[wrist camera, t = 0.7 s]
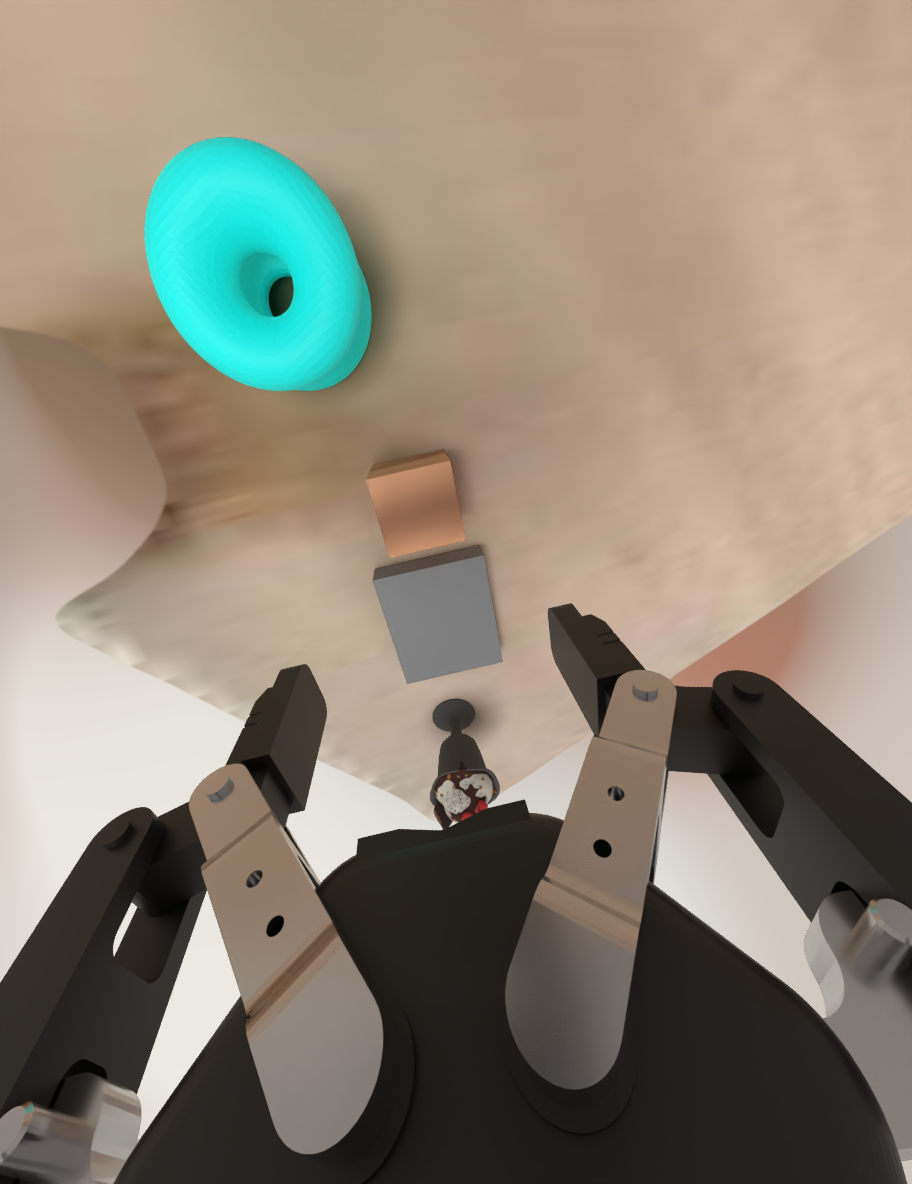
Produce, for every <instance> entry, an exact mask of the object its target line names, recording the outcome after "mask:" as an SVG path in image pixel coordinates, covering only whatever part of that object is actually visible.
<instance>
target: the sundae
mask: <svg viewBox="0 0 912 1184" xmlns="http://www.w3.org/2000/svg"><path fill="white" fill-rule="evenodd" d="M474 715H475V711H474V709H473V707H472V705H470V704H469V703H468V702H466V701H463V700H459V699H454V700H448V701H445V702H443V703H441V704H440V705H439V706H438V707H437V708H436V709H435V711H434V713H433V721H434V723H435V725H436V726H437V727H438V728H440V729H442V730H444V731H451V736H449V737H448V738H447V739H446V740H445V741H444V742H443V743H442V745H441V748H440V754H439V765H438V777H437V778H436V780H435V781H434V784H433V786H432V789H431V792H430V800H431V802H432V804H433V805H434V806H435V808H434V814H435V816H436V818H437V820H438V822H439V823H440V825H441V826H442V828H443V830H444V829H447V828H449V826H450V825H451V823H452V822H453V821H454V822H456V823H458V822H460V821H462V820H464V819H466V818H468V817H470V816H472V815H474V814H476V813H478V812H480V811H481V810H483V809H487V807H488V806H487V805H488V804H490V803H491V802H492V801H494V800H495V799H496V798H497V796H498V795H499V791H500V785H499V783H498V780H497V778H496V776H495V775H494V773H493V772H492V771H490V770H489V769H486V766H485V764H484V761H483V758H482V755H481V753H480V750H479V748H478V746H477V744H476V742H475V740H474V739H473V738H471V737H470V736H468V735H465V734H462V733H461V730H462V729H464V728H466V727H467V726H469V725H470V724H471V722H472V721H473V719H474Z"/></svg>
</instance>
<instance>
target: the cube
mask: <svg viewBox="0 0 912 1184" xmlns="http://www.w3.org/2000/svg"><path fill="white" fill-rule="evenodd" d="M366 481H367V485H368V488H369V491H370V495H371V498H372V501H373V504H374V508H375V511H376V514H377V518H378V521H379V524H380V527H381V531H382V534H383V537H384V541H385V544H386V547H387V551H388V554H389V557H390V558H391V557H396V556H400V555H404V554H409V553H413V552H417V551H422V550H426V549H430V548H435V547H439V546H443V545H448V544H452V543H457V542H461V541H465V540H466V538H465V533H464V528H463V523H462V518H461V513H460V508H459V503H458V498H457V493H456V488H455V482H454V477H453V472H452V467H451V462H450V460H449V458H448V456H447V455H446V453H445V452H444V450H438V451H434V452H430V453H425V454H421V455H416V456H412V457H408V458H403V459H399V460H395V461H390V462H386V463H381V464H377V465H373V466H372V468H371V470H370V472H369V475H368V477H367V479H366Z"/></svg>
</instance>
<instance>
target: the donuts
mask: <svg viewBox="0 0 912 1184" xmlns="http://www.w3.org/2000/svg"><path fill="white" fill-rule="evenodd" d="M145 248H146V255H147V261H148V266H149V270H150V274H151V277H152V281H153V284H154V287H155V289H156V292H157V294H158V297H159V299H160V301H161V303H162V305H163V307H164V309H165V311H166V313H167V315H168V316H169V318H170V320H171V321H172V323H173V324H174V326H175V327H176V329H177V330H178V332H179V333H180V334H181V335H182V337H183V338H184V339H185V340H186V342H187V343H188V344H189V345H190V346H191V347H192V348H193V349H194V350H195V351H196V352H197V353H198V354H199V355H200V356H201V357H202V358H203V359H204V360H206V361H207V362H208V363H209V364H210V365H212V366H213V367H214V368H216V369H217V370H219V371H220V372H222V373H223V374H225V375H227V376H228V377H230V378H232V379H234V380H236V381H238V382H241V383H243V384H245V385H248V386H251V387H255V388H259V389H264V390H272V391H289V390H300V391H314V390H321V389H325V388H328V387H331V386H333V385H335V384H337V383H339V382H341V381H342V380H344V379H345V378H346V377H347V376H349V375H350V374H351V373H352V371H353V370H354V369H355V368H356V367H357V365H358V364H359V362H360V361H361V359H362V357H363V355H364V353H365V351H366V348H367V345H368V342H369V338H370V333H371V323H372V311H371V301H370V295H369V291H368V287H367V284H366V280H365V278H364V275H363V272H362V270H361V268H360V266H359V264H358V262H357V258H356V254H355V251H354V248H353V245H352V242H351V239H350V237H349V234H348V232H347V230H346V227H345V225H344V223H343V221H342V219H341V217H340V216H339V214H338V212H337V210H336V209H335V207H334V206H333V204H332V202H331V201H330V200H329V198H328V197H327V195H326V194H325V193H324V192H323V190H322V189H321V188H320V187H319V186H318V184H317V183H316V182H315V181H314V180H313V179H312V178H311V177H310V176H309V175H308V174H307V173H306V172H305V171H304V170H303V169H301V168H300V167H299V166H298V165H296V164H295V163H294V162H292V161H291V160H290V159H288V158H287V157H285V156H284V155H282V154H280V153H278V152H277V151H275V150H273V149H271V148H269V147H267V146H265V145H262V144H259V143H257V142H254V141H250V140H246V139H241V138H233V137H220V138H211V139H206V140H203V141H200V142H197V143H195V144H192V145H190V146H189V147H187V148H185V149H184V150H182V151H181V152H179V153H178V154H177V155H176V156H175V157H174V158H172V159H171V161H170V162H169V163H168V164H167V165H166V166H165V168H164V169H163V170H162V172H161V173H160V175H159V177H158V178H157V180H156V182H155V184H154V186H153V189H152V192H151V195H150V198H149V202H148V206H147V210H146V218H145ZM287 276H289V277H292V279H293V285H294V294H293V300H292V302H291V305H290V307H289V308H288V309H287V311H286V312H285V313H283V314H282V315H280V316H277V317H274V316H273V315H272V312H271V310H270V306H269V292H270V289H271V286H272V285H273V283H274V282H275V281H276V280H278V279H279V278H282V277H287Z"/></svg>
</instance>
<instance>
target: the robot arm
mask: <svg viewBox="0 0 912 1184" xmlns="http://www.w3.org/2000/svg"><path fill="white" fill-rule="evenodd" d="M548 620H549V630H550V641H551V649H552V653H553V657H554V660H555V663H556V665H557V667H558V669H559V670H560V672H561V674H562V676H563V678H564V680H565V681H566V683H567V685H568V687H569V689H570V691H571V692H572V694H573V696H574V698H575V700H576V702H577V703H578V705H579V707H580V709H581V711H582V713H583V715H584V716H585V718H586V720H587V722H588V724H589V726H590V727H591V729H592V731H593V733H594V736H593V738H592V740H591V743H590V745H589V748H588V751H587V754H586V757H585V760H584V763H583V766H582V769H581V772H580V775H579V778H578V781H577V784H576V787H575V790H574V793H573V796H572V799H571V802H570V805H569V808H568V811H567V814H566V817H565V820H561V819H559V818H556V817H552V816H549V815H543V814H537V813H529V812H528V808H527V805H526V802H525V800H521V801H516V802H512V803H508V804H504V805H500V806H496V807H491V808H487V809H483V810H481V811H480V812H478V813H476V814H474V815H472V816H470V817H468V818H466V819H464V820H462V821H460V822H458V823H456V824H455V825H453V826H451V827H449V828H447V829H444V830H439V831H438V830H410V829H397V830H393V831H389V832H385V833H381V834H376V835H372V836H368V837H363V838H360V839H358V845H357V854H356V855H355V856H353V857H351V858H350V859H348V860H347V861H345V862H344V863H342V864H341V865H340V866H339V867H337V868H336V869H335V870H334V871H332V873H331V874H329V875H328V876H327V877H326V878H325V879H324V880H323V882H322V883H321V882H320V881H319V879H318V878H317V876H316V874H315V873H314V871H313V869H312V868H311V866H310V864H309V863H308V861H307V859H306V857H305V856H304V854H303V852H302V851H301V849H300V847H299V846H298V844H297V842H296V841H295V839H294V838H293V836H292V834H291V832H290V831H289V829H288V828H287V826H286V822H287V818H288V815H289V814H291V813H295V812H300V811H304V810H305V806H306V802H307V798H308V793H309V789H310V785H311V781H312V777H313V772H314V768H315V764H316V760H317V756H318V751H319V747H320V743H321V739H322V734H323V730H324V726H325V722H326V717H327V708H326V703H325V699H324V697H323V695H322V693H321V691H320V689H319V687H318V685H317V682H316V680H315V678H314V676H313V674H312V672H311V670H310V668H309V667H308V666H307V665H306V664H303V665H299V666H294V667H290V668H286V669H282V670H281V671H280V672H279V674H278V676H277V679H276V681H275V683H274V686H273V687H272V688H268V689H267V690H266V691H265V692H264V693H263V694H262V695H261V696H260V697H259V698H258V700H257V701H256V702H255V704H254V706H253V708H252V710H251V713H250V717H248V719H247V721H246V723H245V728H243V729H242V732H241V734H240V736H239V738H238V740H237V742H236V745H235V746H234V749H233V751H232V753H231V755H230V757H229V759H228V761H227V763H226V766H224V767H221V768H219V769H217V770H216V771H214V772H213V773H211V774H210V775H209V776H207V777H206V778H205V779H204V780H203V781H202V782H201V783H200V784H199V785H198V786H197V787H196V789H195V790H194V792H193V793H192V795H191V797H190V801H189V802H187V803H185V804H183V805H181V806H179V807H177V808H175V809H173V810H171V811H169V812H167V813H165V814H163V815H161V816H159V817H157V816H156V815H155V814H154V813H153V812H152V811H151V810H150V809H149V808H146V807H140V808H135V809H132V810H129V811H127V812H125V813H123V814H121V815H120V816H118V817H116V818H115V819H113V820H112V821H111V822H109V823H108V824H107V825H106V826H105V827H104V828H102V830H100V831H99V832H98V833H97V835H96V836H95V837H94V838H93V839H92V841H91V842H90V843H89V845H88V846H87V848H86V850H85V851H84V853H83V854H82V856H81V857H80V859H79V861H78V862H77V864H76V865H75V867H74V868H73V870H72V871H71V873H70V875H69V876H68V878H67V879H66V881H65V882H64V884H63V886H62V887H61V889H60V890H59V892H58V893H57V895H56V897H55V898H54V900H53V901H52V903H51V904H50V906H49V907H48V909H47V911H46V912H45V914H44V915H43V917H42V918H41V920H40V922H39V923H38V925H37V926H36V928H35V929H34V931H33V933H32V934H31V936H30V937H29V939H28V940H27V942H26V944H25V945H24V947H23V948H22V950H21V951H20V953H19V955H18V956H17V958H16V959H15V961H14V962H13V964H12V965H11V967H10V969H9V970H8V972H7V973H6V975H5V976H4V978H3V980H2V981H1V983H0V1184H907V1181H906V1178H905V1174H904V1170H903V1167H902V1163H901V1161H905V1160H912V803H911V802H910V801H909V800H908V799H907V798H906V797H904V796H903V795H902V794H901V793H900V792H899V791H898V790H897V789H895V788H894V787H893V786H892V785H891V784H890V783H888V781H886V780H885V779H884V778H883V777H882V776H881V775H880V774H878V773H877V772H876V771H875V770H874V769H873V768H871V766H869V765H868V764H867V763H866V762H865V761H864V760H863V759H861V758H860V757H859V756H858V755H857V754H856V753H855V752H854V751H852V750H851V749H850V748H849V747H848V746H847V745H846V744H844V743H843V742H842V741H841V740H840V739H839V738H838V737H836V736H835V735H834V734H833V733H832V732H831V731H830V730H828V729H827V728H826V727H825V726H824V725H823V724H822V723H821V722H819V721H818V720H817V719H816V718H815V717H814V716H813V715H812V714H810V713H809V712H808V711H807V710H806V709H805V708H804V707H802V706H801V705H800V704H799V703H798V702H797V701H796V700H794V699H793V698H792V697H791V696H790V695H789V694H788V693H787V692H785V691H784V690H783V689H782V688H781V687H780V686H779V685H777V684H776V683H775V682H774V681H772V680H770V679H769V678H767V677H764V676H762V675H759V674H756V673H753V672H747V671H740V670H735V671H727V672H723V673H721V674H719V675H718V676H716V678H715V679H714V681H713V686H712V687H681V686H675V685H674V684H673V683H672V682H671V681H670V680H669V679H668V678H666V677H665V676H663V675H661V674H659V673H656V672H652V671H647V670H645V668H644V667H643V666H642V665H641V664H640V662H639V661H638V660H637V659H636V658H635V657H634V655H633V654H632V653H631V652H630V651H629V649H628V648H627V647H626V646H625V645H624V644H623V642H622V641H620V639H619V638H618V636H617V635H616V634H615V633H613V631H612V629H611V628H610V627H609V626H608V625H607V623H606V622H605V621H603V620H601V619H599V618H597V617H595V616H593V615H592V614H590V615H586V616H581V615H580V613H579V612H578V611H577V609H576V608H575V607H574V605H573V604H571V603H570V604H565V605H561V606H557V607H552V608H549V609H548ZM669 771H678V772H692V773H706V774H708V776H709V777H710V778H711V780H712V781H713V783H714V784H715V786H716V787H717V788H718V790H719V791H720V793H721V794H722V796H723V797H724V798H725V800H726V801H727V803H728V804H729V806H730V807H731V808H732V810H733V811H734V813H735V814H736V816H737V817H738V818H739V820H740V821H741V823H742V824H743V826H744V827H745V829H746V830H747V831H748V832H749V834H750V836H751V837H752V839H753V840H754V841H755V843H756V844H757V846H758V847H759V849H760V850H761V851H762V853H763V854H764V856H765V857H766V858H767V860H768V861H769V863H770V864H771V866H772V867H773V868H774V870H775V871H776V873H777V874H778V876H779V877H780V879H781V880H782V881H783V883H784V884H785V886H786V887H787V889H788V890H789V891H790V893H791V894H792V896H793V897H794V899H795V900H796V901H797V903H798V904H799V906H800V907H801V908H802V910H803V911H804V913H805V914H806V916H807V917H808V918H809V920H810V921H811V924H810V927H809V929H808V930H807V933H806V935H805V939H804V950H805V955H806V959H807V961H808V964H809V967H810V968H811V970H812V972H813V974H814V976H815V978H816V980H817V982H818V984H819V986H820V989H821V991H822V994H823V997H824V1002H825V1007H826V1018H824V1019H822V1018H821V1016H820V1015H819V1014H818V1013H817V1012H816V1011H815V1010H814V1009H813V1008H812V1007H811V1006H810V1005H809V1004H808V1003H807V1002H806V1001H805V1000H804V999H803V998H802V997H801V996H800V995H799V994H797V993H796V992H795V991H794V990H793V989H792V988H790V987H789V986H788V985H787V984H785V983H784V982H782V981H781V980H780V979H779V978H777V977H776V976H774V975H773V974H772V973H771V972H769V971H768V970H767V969H765V968H764V967H763V966H761V965H760V964H759V963H757V962H756V961H755V960H753V959H752V958H751V957H749V956H748V955H747V954H745V953H744V952H743V951H741V950H740V949H739V948H737V947H736V946H735V945H733V944H732V943H731V942H729V941H728V940H727V939H725V938H724V937H723V936H722V935H720V934H719V933H717V932H716V931H715V930H714V929H712V928H711V927H709V926H708V925H707V924H706V923H704V922H703V921H702V920H700V919H699V918H698V917H696V916H695V915H694V914H692V913H691V912H690V911H688V910H687V909H686V908H684V907H683V906H681V905H680V904H679V903H678V902H676V901H675V900H674V899H672V898H671V897H670V896H668V895H667V894H666V893H664V892H663V891H662V890H660V889H659V888H658V887H656V886H655V885H654V878H655V872H656V864H657V856H658V848H659V840H660V832H661V825H662V818H663V810H664V804H665V797H666V789H667V782H668V775H669ZM206 891H208V894H209V897H210V900H211V903H212V907H213V910H214V913H215V916H216V919H217V922H218V925H219V928H220V932H221V935H222V938H223V940H224V944H225V947H226V950H227V953H228V957H229V960H230V963H231V966H232V969H233V972H234V975H235V978H236V981H237V985H238V987H239V991H240V994H241V996H240V998H239V999H238V1000H237V1002H236V1003H235V1005H234V1006H233V1008H232V1009H231V1011H230V1012H229V1014H228V1015H227V1016H226V1017H225V1019H224V1020H223V1022H222V1023H221V1025H220V1026H219V1027H218V1029H217V1030H216V1032H215V1033H214V1035H213V1036H212V1037H211V1039H210V1040H209V1042H208V1043H207V1045H206V1046H205V1047H204V1049H203V1050H202V1052H201V1053H200V1054H199V1056H198V1058H197V1059H196V1060H195V1062H194V1063H193V1065H192V1066H191V1067H190V1069H189V1070H188V1072H187V1073H186V1074H185V1076H184V1077H183V1079H182V1080H181V1082H180V1083H179V1085H178V1086H177V1087H176V1089H175V1090H174V1092H173V1093H172V1095H171V1096H170V1097H169V1099H168V1100H167V1102H166V1103H165V1105H164V1106H163V1108H162V1109H161V1110H160V1112H159V1113H158V1114H157V1116H156V1117H155V1119H154V1120H153V1121H152V1123H151V1124H150V1126H149V1127H148V1129H147V1130H146V1131H145V1133H144V1134H143V1136H142V1137H141V1139H140V1140H139V1139H137V1138H138V1134H139V1129H140V1123H141V1105H140V1101H139V1098H138V1096H137V1092H138V1088H139V1086H140V1083H141V1080H142V1077H143V1074H144V1072H145V1069H146V1066H147V1063H148V1060H149V1057H150V1054H151V1051H152V1048H153V1045H154V1042H155V1039H156V1037H157V1034H158V1031H159V1028H160V1025H161V1022H162V1019H163V1016H164V1013H165V1010H166V1007H167V1005H168V1002H169V999H170V996H171V993H172V990H173V987H174V984H175V981H176V978H177V975H178V972H179V970H180V967H181V964H182V961H183V958H184V955H185V952H186V949H187V946H188V943H189V941H190V937H191V935H192V932H193V929H194V926H195V923H196V920H197V917H198V914H199V911H200V908H201V906H202V903H203V900H204V897H205V894H206ZM131 902H132V903H133V904H135V905H136V906H137V909H136V911H135V913H134V916H133V918H132V920H131V922H130V924H129V927H128V928H127V931H126V933H125V935H124V937H123V939H122V941H121V943H120V946H119V948H118V950H117V952H116V954H115V956H113V943H114V939H115V936H116V933H117V931H118V929H119V927H120V925H121V923H122V921H123V918H124V917H125V915H126V913H127V910H128V908H129V906H130V904H131Z"/></svg>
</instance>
